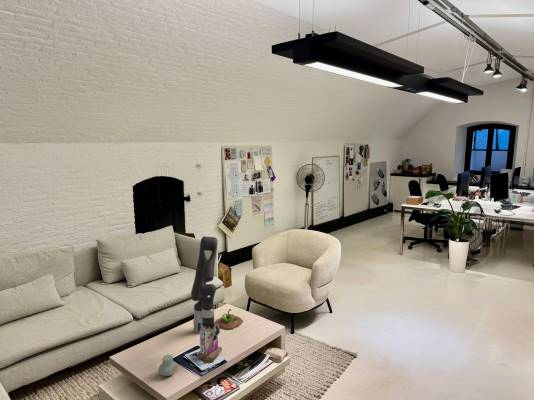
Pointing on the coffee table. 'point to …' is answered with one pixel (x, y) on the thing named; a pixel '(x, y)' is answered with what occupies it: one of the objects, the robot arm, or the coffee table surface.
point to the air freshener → (168, 366)
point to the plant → (229, 321)
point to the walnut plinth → (210, 355)
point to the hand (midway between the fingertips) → (208, 339)
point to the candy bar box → (207, 341)
